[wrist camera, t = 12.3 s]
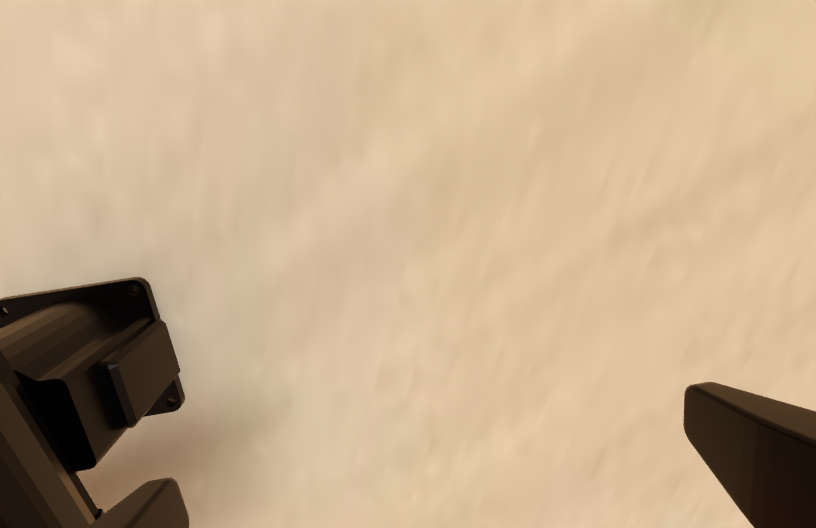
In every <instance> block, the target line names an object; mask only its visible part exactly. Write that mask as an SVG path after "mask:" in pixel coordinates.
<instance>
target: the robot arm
mask: <svg viewBox="0 0 816 528" xmlns="http://www.w3.org/2000/svg"><path fill="white" fill-rule="evenodd" d="M133 285H136V286H137V287H139V289H140V293H136V292H134V290H133ZM3 307H5V308H6V309H7V310H8V313H6V312H5V311H4V310H3ZM179 372H180V368H179V365H178V362H177V358H176V355H175V352H174V349H173V345H172V342H171V339H170V336H169V333H168V329H167V326H166V323H165V322H163V321H162V320H161V319H160V315H159V312H158V309H157V306H156V303H155V300H154V296H153V293H152V290H151V287H150V285H149V283H148V282H147V281H146V280H145V279H143V278H141V277H133V278H127V279H120V280H114V281H107V282H101V283H95V284H88V285H82V286H75V287H69V288H63V289H56V290H50V291H43V292H37V293H30V294H24V295H18V296H11V297H5V298H2V299H0V528H189V516H188V513H187V510H186V507H185V504H184V501H183V498H182V495H181V492H180V489H179V486H178V484H177V482H176V481H175V480H174V479H172V478H165V479H159V480H154V481H149V482H147V483H145V484H143V485H142V486H141V487H139V488H138V489H137V490H135V491H134V492H133V493H131V494H130V495H129V496H127V497H126V498H125V499H123V500H122V501H121V502H119V503H118V504H117V505H115V506H114V507H113V508H112V509H110V510H109V511H108V512H106V513H104V512H103V510H102V509H97V507H96V506H95V504H94V502H93V501H92V499H91V498H90V496H89V494H88V493H87V491H86V489H85V488H84V486H83V484H82V483H81V481H80V479H79V478H78V476H77V474H76V473H77V472H78V471H82V470H87V469H91V468H94V467H95V466H96V465H97V463H98V462H99V461H100V460H101V459H102V458H103V456H104V455H105V454H106V453H107V452H108V451H109V449H110V448H111V447H112V446H113V445H114V444H115V442H116V441H117V440H118V439H119V438H120V437H121V435H122V434H123V433H124V432H125V431H126V430H127V429H128V428H133V427H134V426H136V424H137V423H138V422H139V421H140V420H141V418H142V417H145V416H150V415H156V414H162V413H168V412H173V411H176V410H178V409H179V408H180V407H181V406H182V404H183V403H184V400H185V395H184V392H183V389H182V386H181V382H180V379H179V376H178V374H179ZM168 397H172V398H174V399H175V401H176V402H171V401H170V400H169V399H168ZM684 430H685V433H686V435H687V437H688V439H689V441H690V442H691V444H692V445H693V446H694V448H695V449H696V450H697V452H698V453H699V454H700V456H701V457H702V459H703V460H704V461H705V463H706V464H707V465H708V467H709V468H710V470H711V471H712V472H713V474H714V475H715V476H716V478H717V479H718V480H719V482H720V483H721V485H722V486H723V487H724V489H725V490H726V491H727V493H728V494H729V495H730V497H731V498H732V500H733V501H734V502H735V504H736V505H737V506H738V508H739V509H740V510H741V512H742V513H743V514H744V515H745V517H746V518H747V519H748V521H749V522H750V523H751V524H752V525H753V527H754V528H816V411H812V410H809V409H805V408H802V407H798V406H795V405H791V404H788V403H784V402H781V401H777V400H774V399H770V398H767V397H763V396H760V395H756V394H753V393H749V392H746V391H742V390H739V389H735V388H732V387H728V386H725V385H721V384H718V383H714V382H705V383H700V384H694V385H690V386H688V387H687V388H686V390H685V397H684Z"/></svg>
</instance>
